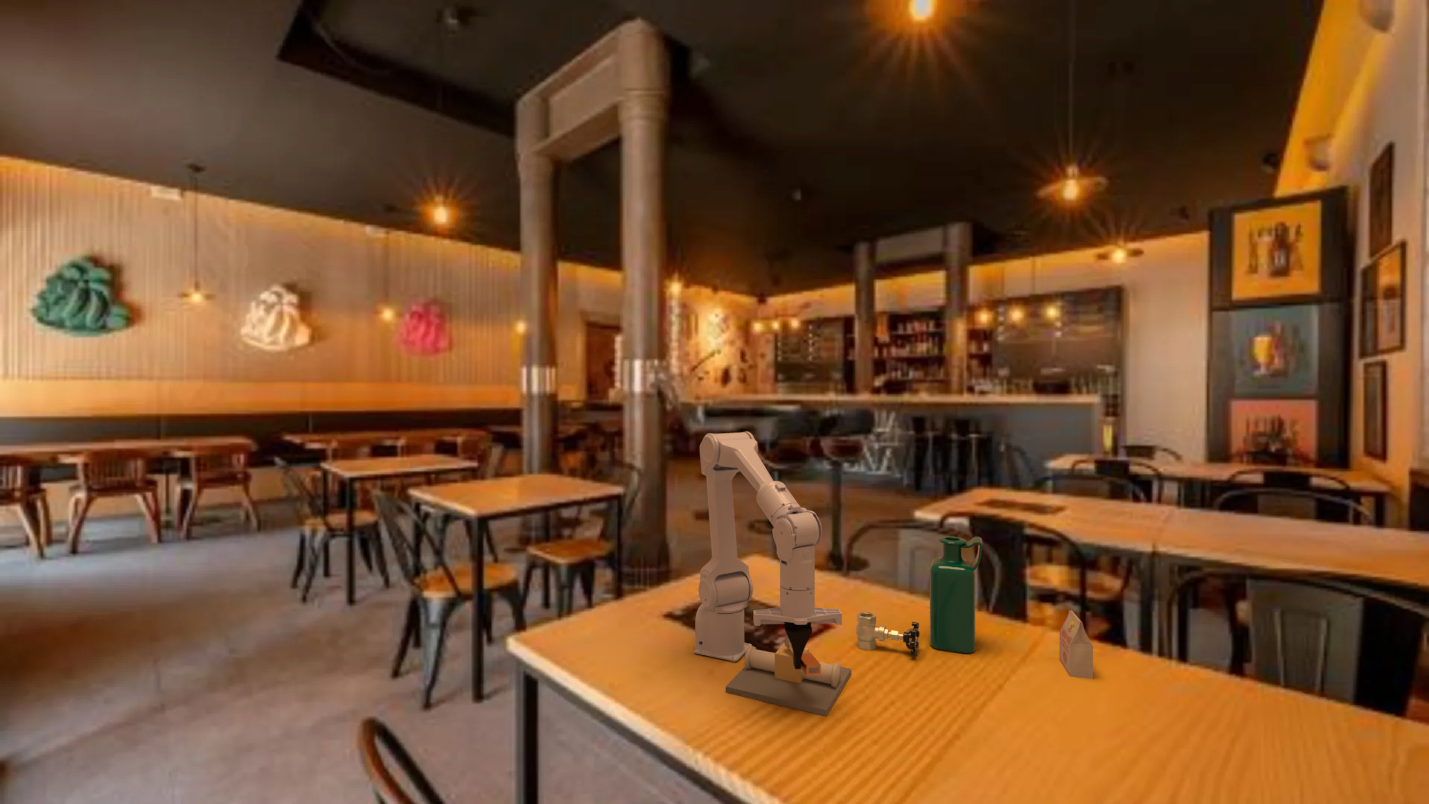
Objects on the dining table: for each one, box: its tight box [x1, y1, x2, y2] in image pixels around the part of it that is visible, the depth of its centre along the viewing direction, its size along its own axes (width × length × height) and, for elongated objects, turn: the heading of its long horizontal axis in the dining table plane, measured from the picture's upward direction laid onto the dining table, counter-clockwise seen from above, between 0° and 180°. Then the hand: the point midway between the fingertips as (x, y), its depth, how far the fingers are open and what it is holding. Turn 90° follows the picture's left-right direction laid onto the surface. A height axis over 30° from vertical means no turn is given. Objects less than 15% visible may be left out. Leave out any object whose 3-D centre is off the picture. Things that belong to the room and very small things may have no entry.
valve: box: [855, 611, 921, 657], centre depth 123 cm, size 7×7×12 cm
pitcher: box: [929, 535, 983, 654], centre depth 125 cm, size 10×8×22 cm
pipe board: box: [725, 643, 852, 717], centre depth 109 cm, size 18×16×5 cm
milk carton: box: [1059, 609, 1094, 680], centre depth 114 cm, size 4×7×10 cm, turn 165°
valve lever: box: [784, 636, 821, 676], centre depth 105 cm, size 12×3×2 cm, turn 11°
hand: (797, 666), depth 102 cm, fingers closed, pressing on valve lever
